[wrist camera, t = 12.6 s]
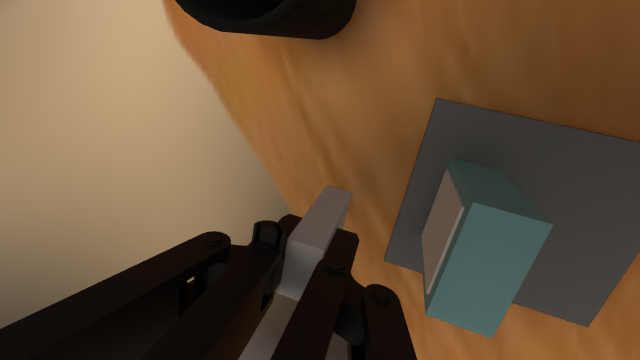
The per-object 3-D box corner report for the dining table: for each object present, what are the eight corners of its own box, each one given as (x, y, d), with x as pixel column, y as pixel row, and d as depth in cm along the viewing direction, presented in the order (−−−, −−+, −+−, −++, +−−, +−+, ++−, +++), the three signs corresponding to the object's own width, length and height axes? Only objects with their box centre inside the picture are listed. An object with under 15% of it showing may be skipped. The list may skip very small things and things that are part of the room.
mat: (436, 98, 22) (436, 98, 22) (697, 155, 19) (703, 156, 19) (384, 258, 27) (384, 260, 27) (585, 323, 24) (587, 327, 24)
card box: (418, 237, 25) (422, 313, 17) (448, 157, 23) (469, 201, 14) (464, 251, 25) (492, 338, 16) (499, 170, 22) (553, 224, 14)
